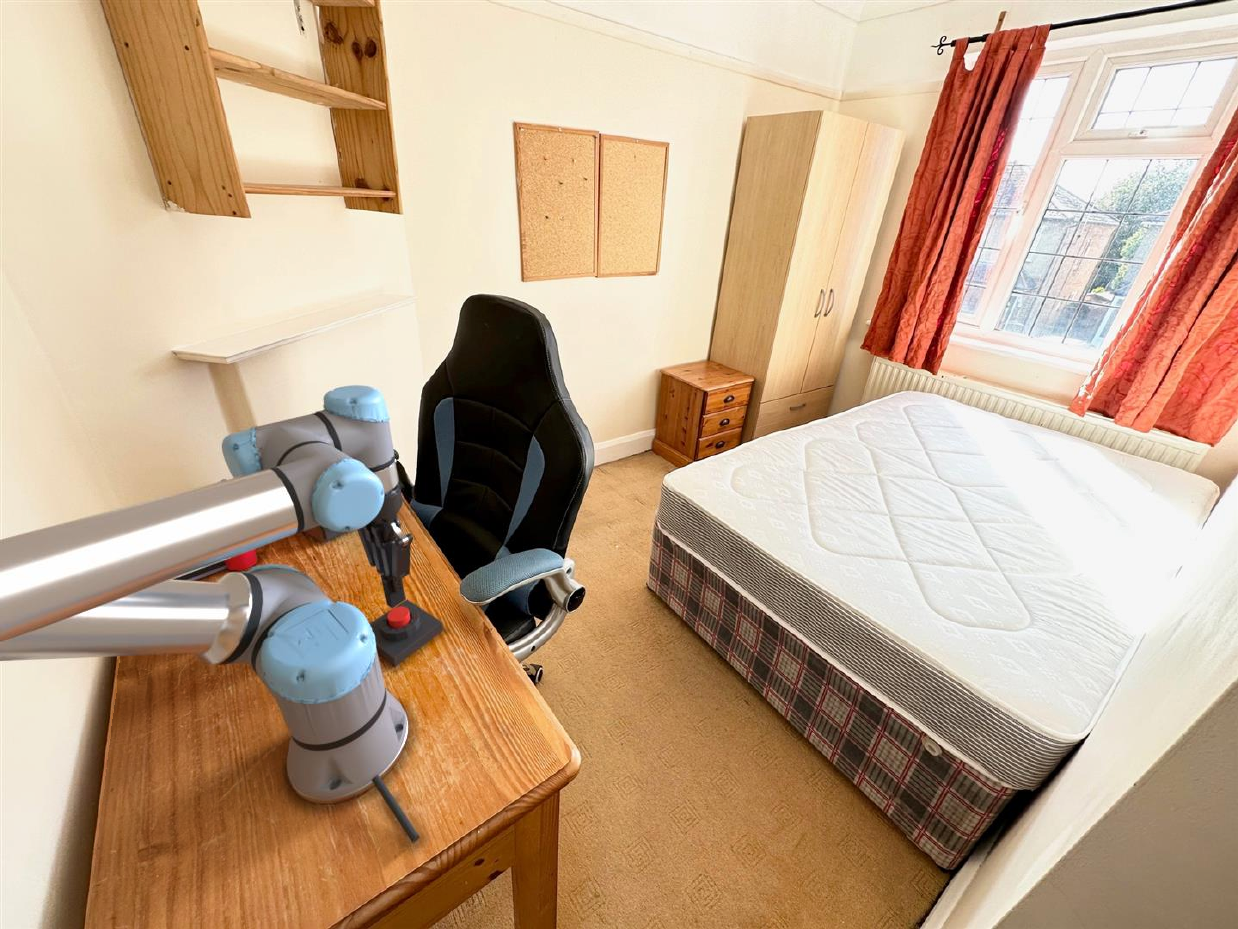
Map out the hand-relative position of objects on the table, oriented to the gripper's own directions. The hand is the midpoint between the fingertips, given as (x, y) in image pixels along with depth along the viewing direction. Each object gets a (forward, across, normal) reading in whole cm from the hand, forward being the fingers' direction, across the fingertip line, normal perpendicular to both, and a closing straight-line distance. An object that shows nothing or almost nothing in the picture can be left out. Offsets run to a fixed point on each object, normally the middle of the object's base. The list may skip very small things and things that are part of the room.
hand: (396, 602), depth 84 cm
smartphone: (+8, +48, +15) cm, 51 cm away
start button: (+5, 0, 0) cm, 5 cm away
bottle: (+8, +43, +7) cm, 45 cm away
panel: (+8, 0, 0) cm, 8 cm away
